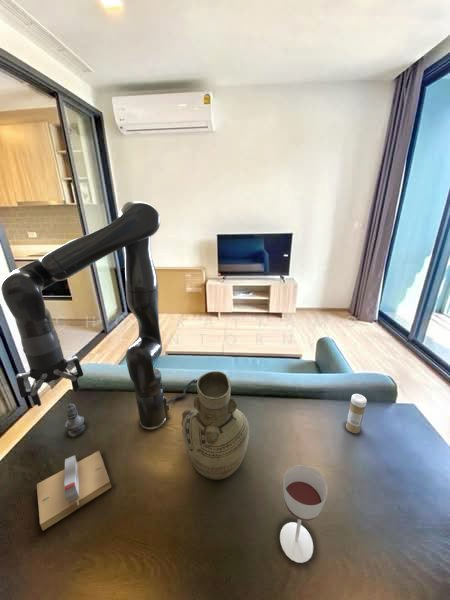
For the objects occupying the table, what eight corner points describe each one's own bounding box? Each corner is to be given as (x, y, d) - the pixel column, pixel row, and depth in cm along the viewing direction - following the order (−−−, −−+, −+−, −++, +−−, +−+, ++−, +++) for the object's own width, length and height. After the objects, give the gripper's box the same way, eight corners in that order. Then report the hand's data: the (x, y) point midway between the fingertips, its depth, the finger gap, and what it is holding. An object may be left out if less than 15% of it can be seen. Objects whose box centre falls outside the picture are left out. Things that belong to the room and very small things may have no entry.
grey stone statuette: (77, 438, 85) (69, 411, 81) (63, 435, 86) (54, 408, 82) (89, 424, 90) (82, 398, 86) (75, 422, 91) (68, 395, 87)
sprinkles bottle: (361, 428, 87) (369, 398, 83) (356, 436, 85) (364, 405, 80) (348, 421, 91) (354, 391, 86) (343, 428, 88) (349, 397, 83)
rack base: (99, 453, 79) (98, 447, 79) (112, 490, 69) (111, 484, 68) (38, 486, 70) (36, 480, 69) (43, 535, 60) (40, 528, 59)
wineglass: (273, 523, 62) (278, 466, 55) (307, 519, 62) (317, 463, 55) (283, 566, 54) (290, 507, 47) (321, 561, 55) (335, 502, 48)
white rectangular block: (68, 469, 72) (64, 458, 71) (78, 465, 73) (74, 454, 72) (67, 502, 64) (63, 491, 63) (78, 497, 65) (75, 485, 64)
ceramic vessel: (205, 422, 91) (201, 351, 80) (258, 449, 80) (262, 371, 70) (168, 465, 76) (158, 385, 65) (228, 505, 65) (227, 418, 55)
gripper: (71, 333, 71) (83, 379, 77) (7, 350, 63) (25, 401, 68) (76, 343, 65) (88, 393, 71) (6, 363, 57) (26, 418, 63)
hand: (58, 397), depth 70 cm, fingers open, 8 cm apart
